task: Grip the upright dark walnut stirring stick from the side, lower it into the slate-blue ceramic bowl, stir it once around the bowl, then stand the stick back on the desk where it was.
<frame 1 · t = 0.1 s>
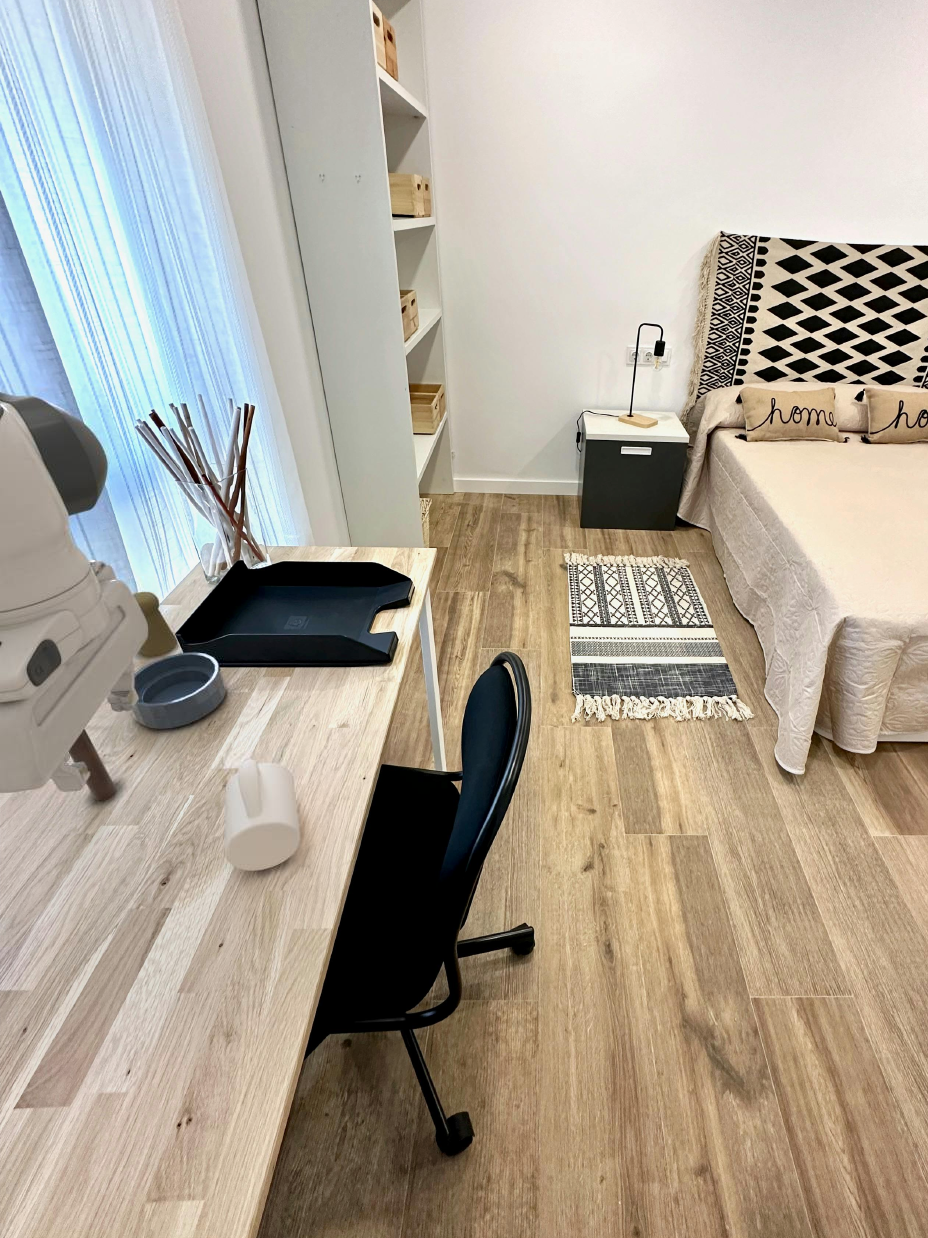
hand: (103, 742, 54), 29 cm above the table, tool pointing down, fingers open, 8 cm apart
mug: (269, 836, 80), on the table
stirring stick: (105, 793, 85), on the table
bowl: (183, 703, 101), on the table
cork: (159, 646, 113), on the table
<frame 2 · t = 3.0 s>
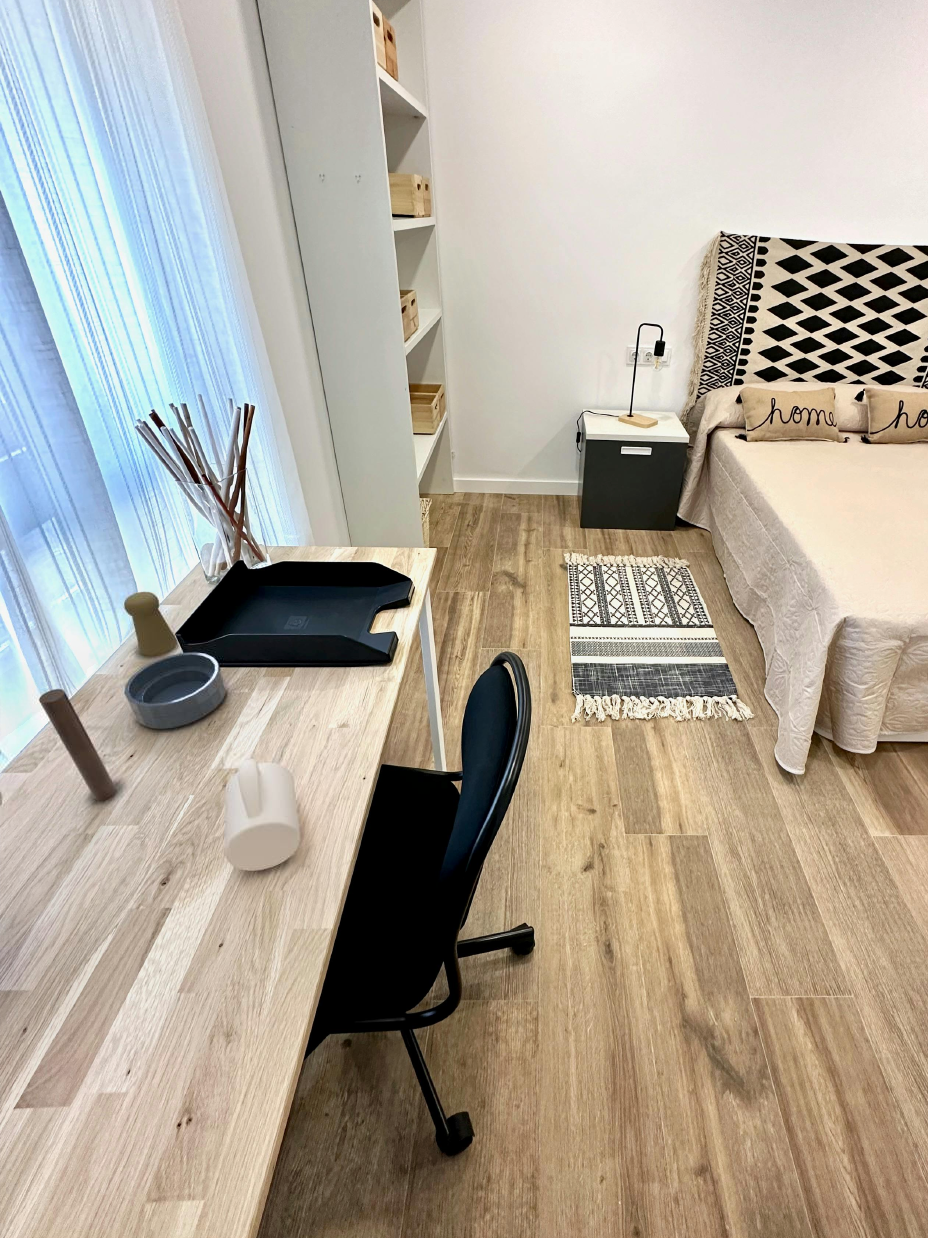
nothing on the table moved.
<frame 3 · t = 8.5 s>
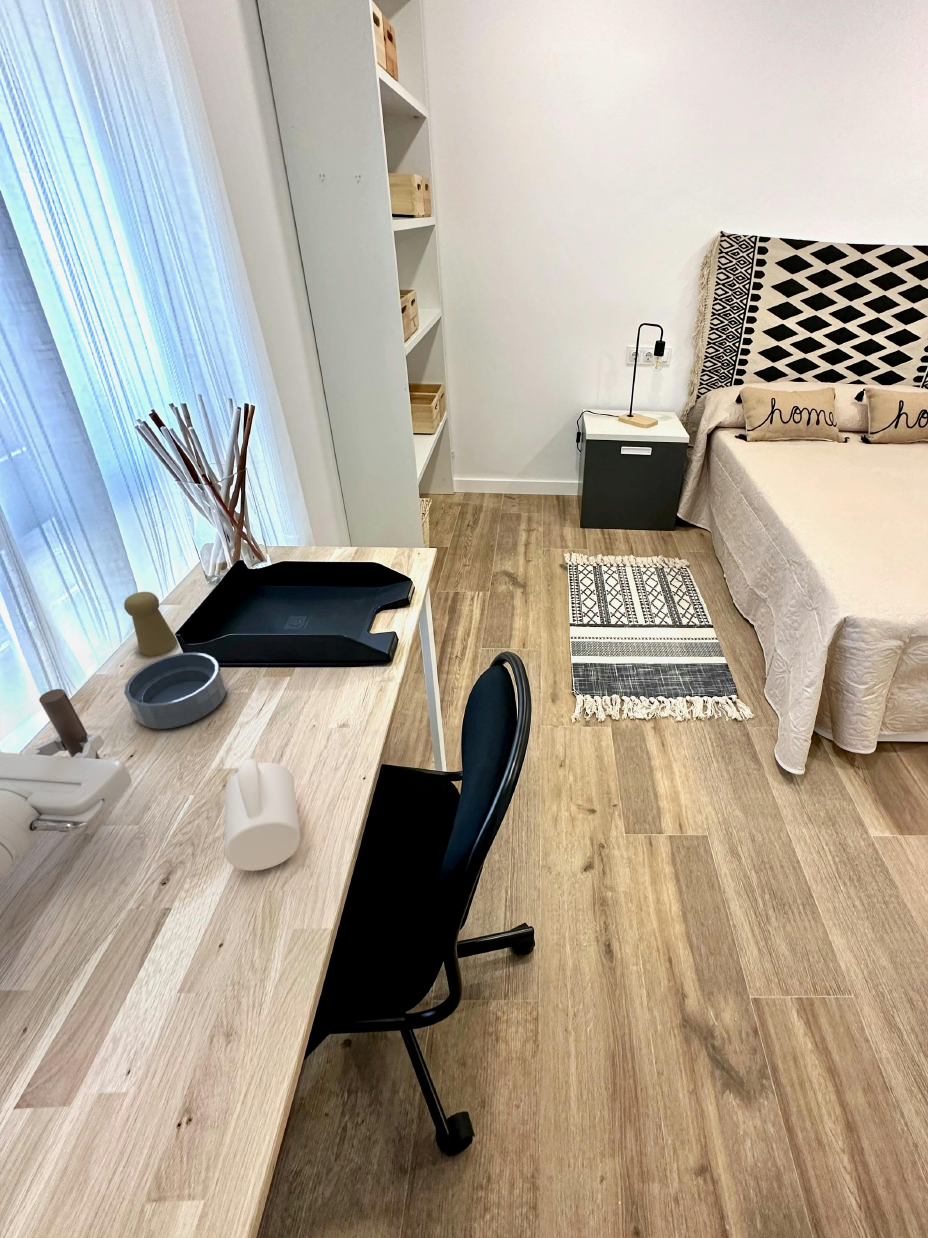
hand: (82, 736, 80), 10 cm above the table, tool horizontal, fingers closed on stirring stick, 2 cm apart
stirring stick: (105, 793, 85), on the table, touching gripper
everything else where it was.
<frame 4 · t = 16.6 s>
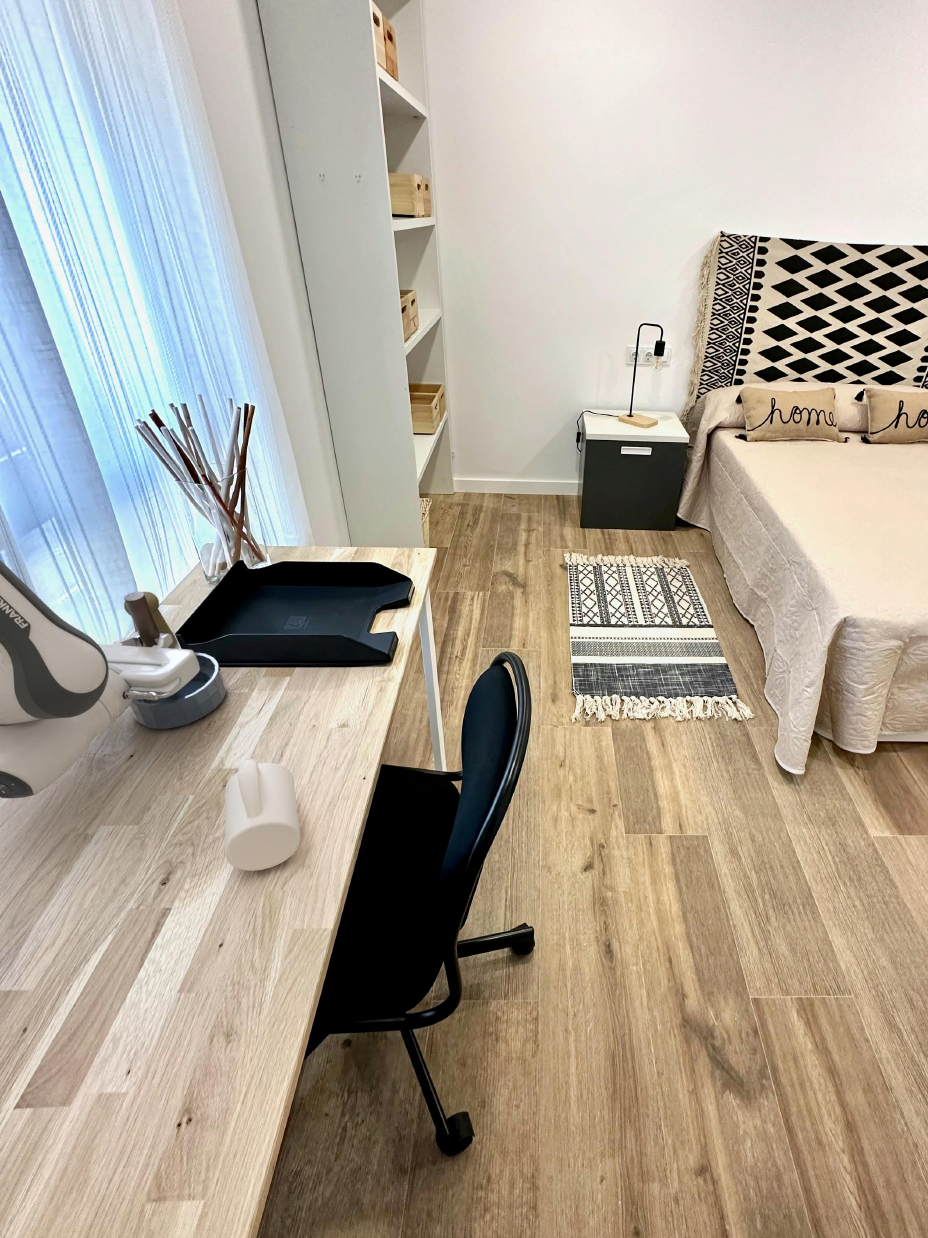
hand: (155, 636, 95), 12 cm above the table, tool horizontal, fingers closed on stirring stick, 2 cm apart
stirring stick: (171, 688, 100), point 2 cm above the table, touching gripper
everything else where it was.
when the fingers open (10 cm above the table, at t = 24.5 s): stirring stick stays where it is, on the table.
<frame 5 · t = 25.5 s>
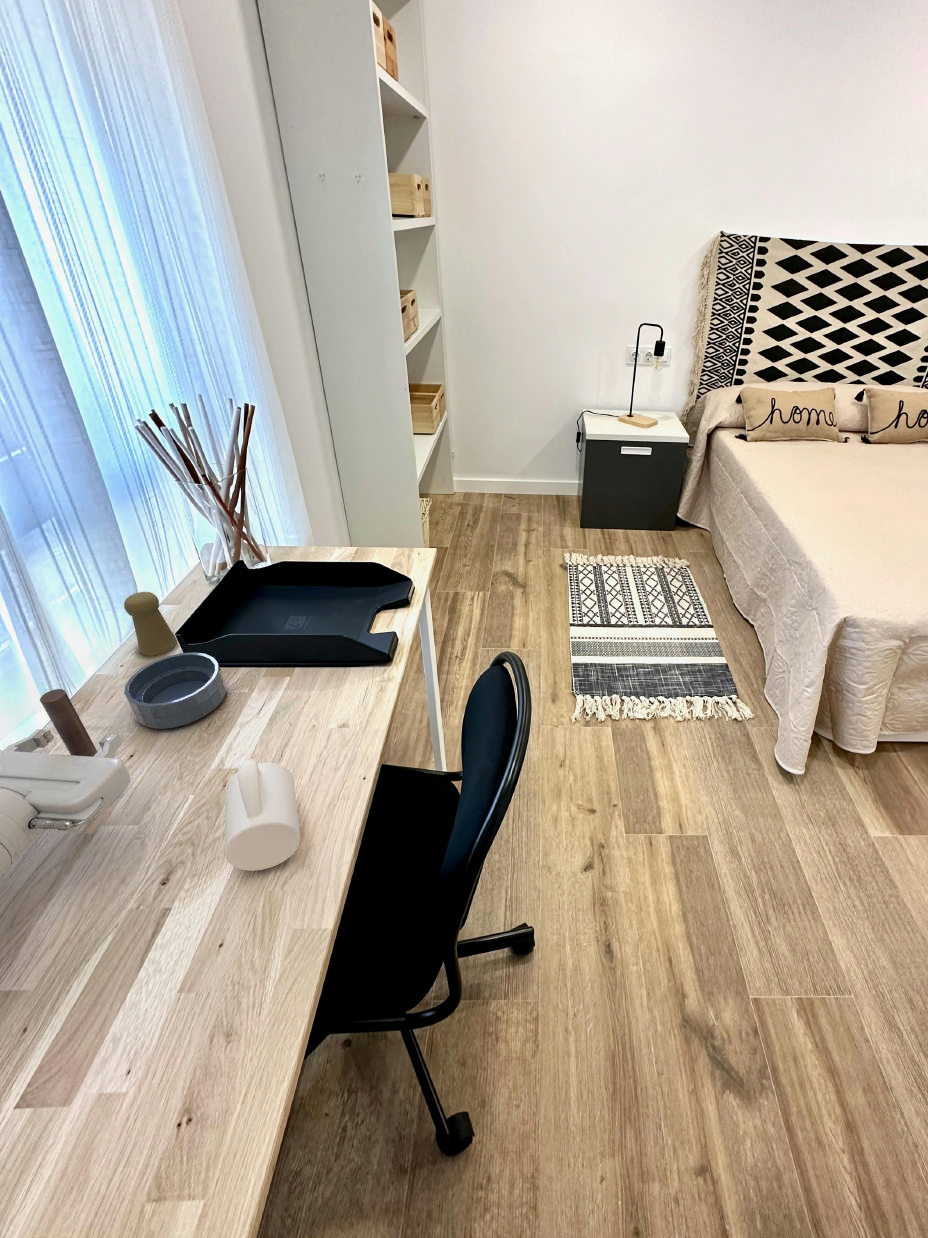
hand: (81, 735, 80), 10 cm above the table, tool horizontal, fingers open, 8 cm apart
stirring stick: (106, 793, 85), on the table
everything else where it was.
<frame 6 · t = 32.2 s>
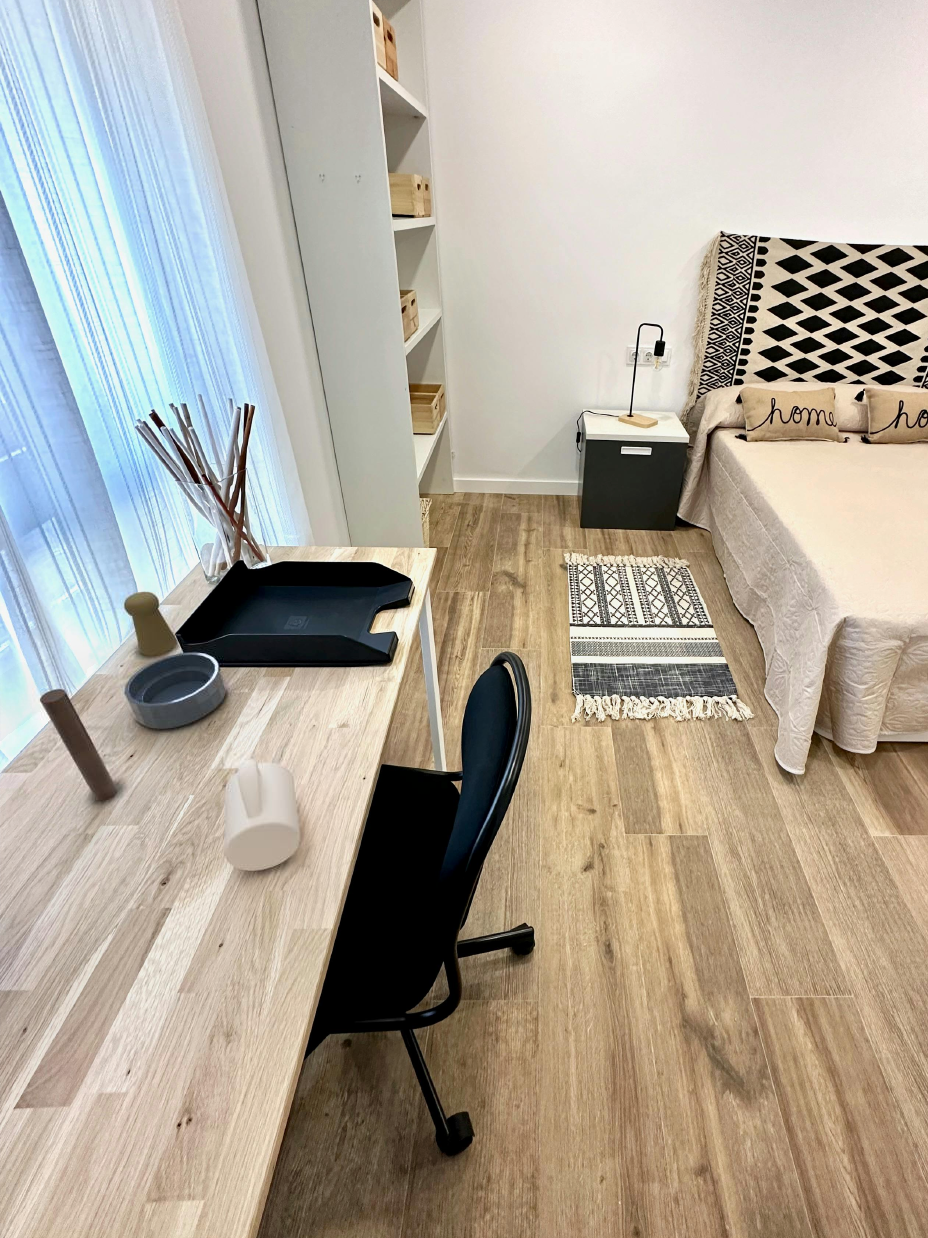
nothing on the table moved.
at the end: stirring stick inside the target area (0.1 cm from its centre), on the table; stirring stick tilted 0°; the gripper is holding nothing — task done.
